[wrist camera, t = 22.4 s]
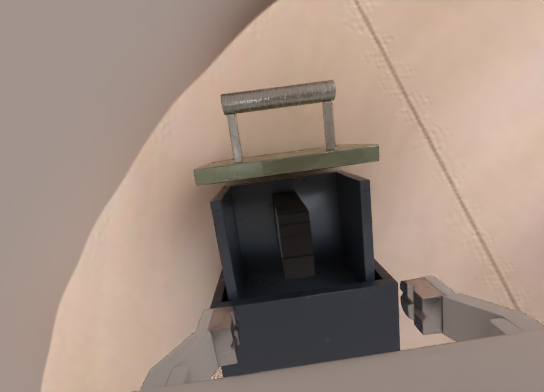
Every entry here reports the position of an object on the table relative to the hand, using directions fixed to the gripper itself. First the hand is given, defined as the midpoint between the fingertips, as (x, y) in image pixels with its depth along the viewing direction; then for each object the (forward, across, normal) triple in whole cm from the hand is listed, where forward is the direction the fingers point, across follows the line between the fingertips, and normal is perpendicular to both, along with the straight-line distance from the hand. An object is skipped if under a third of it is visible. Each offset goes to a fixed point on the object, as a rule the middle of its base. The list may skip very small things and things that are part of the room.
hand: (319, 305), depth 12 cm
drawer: (+15, 0, -3) cm, 15 cm away
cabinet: (+15, 0, +10) cm, 19 cm away
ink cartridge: (+14, 0, -1) cm, 14 cm away
